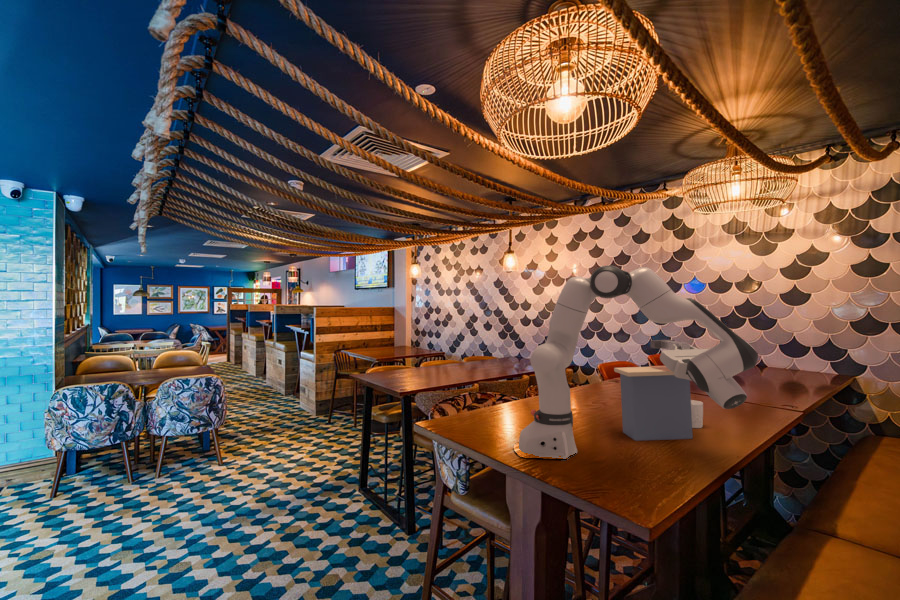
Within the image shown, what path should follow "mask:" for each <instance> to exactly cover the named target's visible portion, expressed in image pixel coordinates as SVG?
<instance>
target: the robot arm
mask: <svg viewBox="0 0 900 600" xmlns="http://www.w3.org/2000/svg"><path fill="white" fill-rule="evenodd" d="M623 295H625V296H628V297H629V298H630V299H631V300H632V301H633V302H634V303H635V305H636V307H637V308H639V311H640V312H641V313H642V314H643V316H645V317H646V319H648V320H649V321H651V322H653V323H657V324H662V325H663V324H672V323H673V324H674V323H677V322H683V321H696V322H698V323H701V325H702V326H703V327H705V328H706V329H707V330H708V332H711V333H712V334H713V335H714V336H715V337H716V338H717V339H718V340H719V343H718V344H717V345H715V346H713V347H711V348H698V347H695V346H693V345H691V344H690V349H687V350H679V349H678V348H679V346H678V345H677V344H673V345H672V349H673V350H667V349H663V350H662V351H661V352H660V355H659V360H660V362H661V363H662V364H663V366H666V367H667V368H668V369H669V370H670V371H673V372H674V376H675V377H677V378H682V379H687V380H690V382H692V383H693V384H695V386H696V387H697V388H699V390H700V391H702V392H705V394H707V395H708V396H709V398H710V399H712V401H714V402H715V403H716V404H717V405H718V406H720V407H721V408H722V409H725V410H731V409H736V408H737V407H739V406H742V405H743V404H744V403H745V402H746V401H747V399H748V394H747V393H746V392H745V390H744V389H743V388H742V387H741V385H740V384H739V383H738V382H737V381H736V379H735V378H734V376H736V375H738V374H740V373H743V372H746V371H748V370H751V369H753V368H755V367H756V365H757V363H758V359H759V354H758V352H757V350H756V349H755V348H754V346H752V345H751V343H750V342H748V341H746V340H745V339H743V338H742V337H741V336H740V335H738V334H737V333H736V332H734V331H733V330H732V329H731V328H730V327H728V326H727V324H725V323H724V322H723V321H722V320H721V319H720V318H718V317H717V316H716V315H715V314H714V313H712V312H711V311H710V310H709V309H707V308H706V307H705V306H704V305H703V304H702V303H700V302H699V301H697V300H695V299H693V298H691V297H689V298H684V297H682V296H680V295H678V294H677V293H675V292H674V290H672V288H671V287H670V286H669V285H668V284H667V282H666V281H665V280H664V279H662V277H661V276H659V275H658V274H657V273H656V272H655V271H654V270H653V269H651V268H650V267H639V268H636V269H634V270H632V271H625V270H623V269H620V268H619V267H617V266H614V265H602V266H600V267H598V268H596V269H595V270H594V271H593V272H592V274H591V275H590V277H587V278H586V277H583V276H572V277H570V278H568V279H567V281H566V282H565V284H564V286H563V287H562V289H561V291H560V293H559V296H558V298H557V300H556V302H555V306H554V309H553V311H552V314H551V317H550V319H549V322H548V326H549V327H548V333H547V338H546V341H545V342H544V343H542V344H539V345H538V346H536V348H535V349H534V350H532V351H533V352H531V354H530V358H529V359H530V360H529V361H530V365H531V367H532V369H533V371H534V374H535V379H536V380H535V381H536V384H537V388H538V407H539V408H538V410H536V409H531V410H530V414H531V415H532V417H533V419H534V420H533V421H532V422H530V423H529V424H528V425H526V426H525V427H524V428H523V429H522V430H521V431H520V434H519V438H518V442H519V449H520V450H521V451H522V452H524V453H528V454H533V455H535V456H539V457H552V458H563V459H566V458H568V457H569V456H570V455H573V454H575V453H576V454H578V448H577V445H576V442H575V437H574V431H573V427H574V425H573V424H574V415H573V411H572V409H571V408H572V407H571V406H572V403H571V388H570V386H569V384H568V380H567V379H568V378H567V373H566V369H567V368H568V367H569V366H571V364H572V363H573V359H574V355H575V352H576V348H577V345H578V341H579V336H580V333H581V330H582V328H583V324H584V323H585V320H586V319H587V318H586V316H587V315H588V312H589V309H590V307H591V305H592V302H593V301H594V300H595V299H596V298H598V297H599V298H601V299H607V300H608V299H614V298H617V297H619V296H623ZM576 454H575V455H576ZM559 456H561V457H559ZM573 456H574V455H573ZM569 458H570V457H569ZM569 458H568V459H569Z"/></svg>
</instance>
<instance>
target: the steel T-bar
mask: <svg viewBox="0 0 900 600" xmlns="http://www.w3.org/2000/svg"><path fill="white" fill-rule="evenodd" d="M673 344H677V345H678V346H679V348H678V349H679V350H687V349H690V345H691V344H690V342H684V341H683V342H682V341H675V339H657V340H656V339H655V340H653V339H652V340H650V349H660V350H661V349H663V350H673V349H672V345H673Z"/></svg>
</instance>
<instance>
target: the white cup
mask: <svg viewBox="0 0 900 600" xmlns="http://www.w3.org/2000/svg"><path fill="white" fill-rule="evenodd" d="M691 415H692V429H702V428H703V426H704V425H703V423H704V422H703V420H704V402H702V401H700V400H693V399H691Z"/></svg>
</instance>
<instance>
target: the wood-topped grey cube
mask: <svg viewBox="0 0 900 600" xmlns="http://www.w3.org/2000/svg"><path fill="white" fill-rule="evenodd" d="M613 371H614V372H615V373H618V374H620V375H619V376H620V379H619V380H620V396H621V397H620V398H621V399H620V400H621V401H620V402H621V418H622V419H621V420H622V421H621V422H622V433H623V434H625V435H626V436H627V437H629V438H631V440H633V441H635V442H637V441H640V442H641V441H660V440H661V441H662V440H663V441H664V440H665V441H666V440H668V441H669V440H689V439H691V440H693V437H694V436H693V428H692V415H691V400H692V397H691V380H687V379H682V378H677V377H675V376H674V372H673V371H670V370H669V369H668V368H667V367H666V366H665V365H650V366H632V367H631V366H627V367H613Z"/></svg>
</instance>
